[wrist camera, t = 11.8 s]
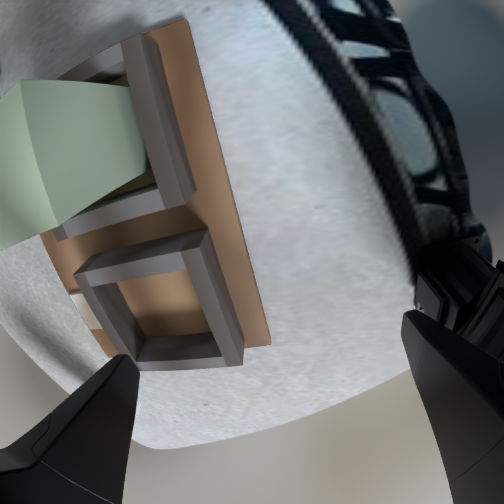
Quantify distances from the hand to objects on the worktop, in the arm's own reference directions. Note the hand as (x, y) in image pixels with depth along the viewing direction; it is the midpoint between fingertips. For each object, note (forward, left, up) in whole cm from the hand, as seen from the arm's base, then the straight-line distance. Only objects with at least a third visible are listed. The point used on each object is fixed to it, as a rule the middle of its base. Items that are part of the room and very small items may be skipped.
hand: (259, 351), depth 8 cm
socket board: (+10, -1, -12) cm, 16 cm away
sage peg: (+8, -8, -11) cm, 16 cm away
